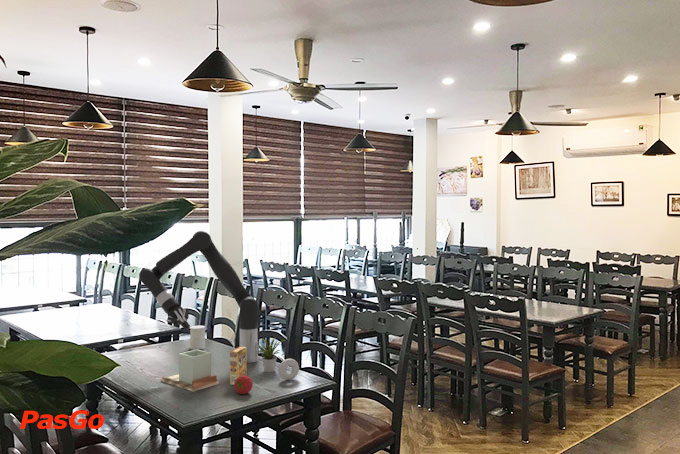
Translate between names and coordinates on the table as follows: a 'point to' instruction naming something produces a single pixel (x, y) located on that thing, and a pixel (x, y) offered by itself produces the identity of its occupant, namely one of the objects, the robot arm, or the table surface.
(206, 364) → the square container
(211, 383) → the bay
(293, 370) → the donut
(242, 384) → the tomato
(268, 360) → the house plant
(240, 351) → the candy box
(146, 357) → the table surface
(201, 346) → the cup
